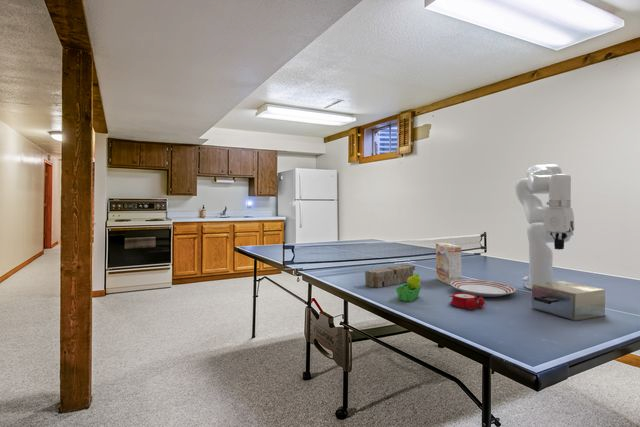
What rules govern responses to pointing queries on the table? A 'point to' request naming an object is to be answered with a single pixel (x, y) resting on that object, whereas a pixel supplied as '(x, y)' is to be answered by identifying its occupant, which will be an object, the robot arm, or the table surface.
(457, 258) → the coffeecake box
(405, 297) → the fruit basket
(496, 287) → the dinner plate
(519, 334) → the table surface
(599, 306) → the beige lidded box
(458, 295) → the alarm clock
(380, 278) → the block tower
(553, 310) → the handled box
